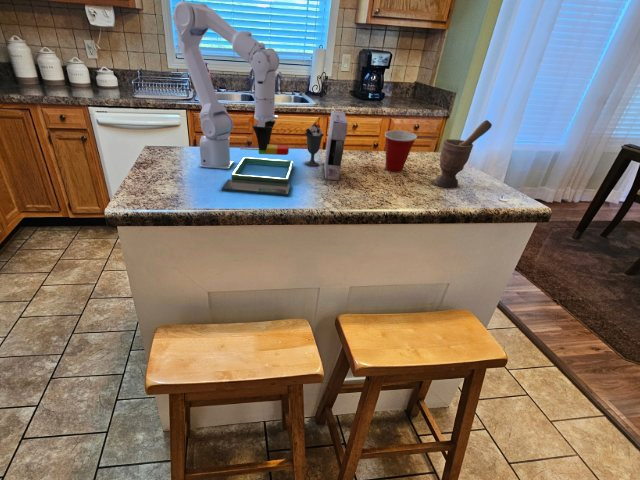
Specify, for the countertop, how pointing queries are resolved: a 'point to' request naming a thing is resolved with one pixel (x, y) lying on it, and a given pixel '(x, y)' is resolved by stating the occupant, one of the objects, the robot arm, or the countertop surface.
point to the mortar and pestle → (457, 156)
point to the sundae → (313, 142)
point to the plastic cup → (398, 149)
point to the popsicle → (272, 150)
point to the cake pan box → (335, 145)
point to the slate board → (256, 187)
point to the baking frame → (260, 178)
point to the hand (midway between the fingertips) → (264, 147)
